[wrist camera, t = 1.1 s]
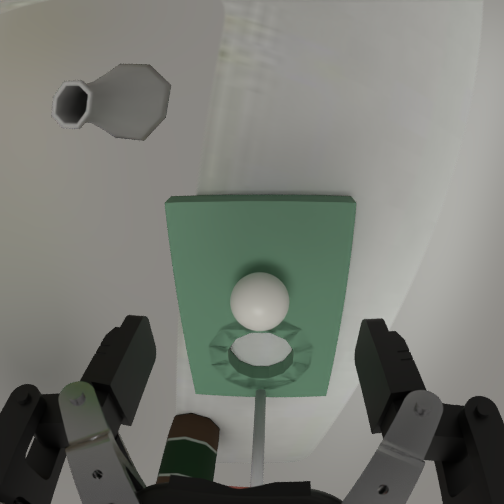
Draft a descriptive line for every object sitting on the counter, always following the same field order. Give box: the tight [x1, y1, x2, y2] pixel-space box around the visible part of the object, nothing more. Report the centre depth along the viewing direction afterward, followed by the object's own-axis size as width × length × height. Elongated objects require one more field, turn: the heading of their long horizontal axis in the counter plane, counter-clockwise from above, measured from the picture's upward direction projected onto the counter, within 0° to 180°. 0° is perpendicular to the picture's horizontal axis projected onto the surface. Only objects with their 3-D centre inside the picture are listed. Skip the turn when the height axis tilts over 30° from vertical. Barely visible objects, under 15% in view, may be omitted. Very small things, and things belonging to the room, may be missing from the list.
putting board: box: [165, 195, 356, 489], centre depth 25 cm, size 24×16×18 cm, turn 1°
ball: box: [230, 272, 289, 331], centre depth 27 cm, size 5×5×5 cm
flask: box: [51, 64, 171, 141], centre depth 20 cm, size 7×7×10 cm
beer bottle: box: [156, 413, 219, 484], centre depth 33 cm, size 8×8×24 cm
